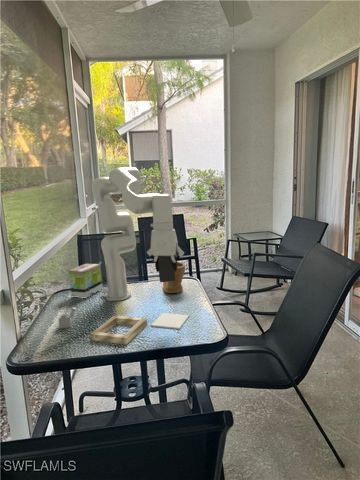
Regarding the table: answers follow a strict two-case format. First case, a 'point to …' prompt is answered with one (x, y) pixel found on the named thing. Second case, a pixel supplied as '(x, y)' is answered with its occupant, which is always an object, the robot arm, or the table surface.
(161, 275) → the phone stand
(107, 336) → the wooden frame
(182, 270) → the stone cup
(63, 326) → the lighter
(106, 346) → the table surface
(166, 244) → the robot arm
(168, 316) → the cream mat
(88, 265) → the tea box
